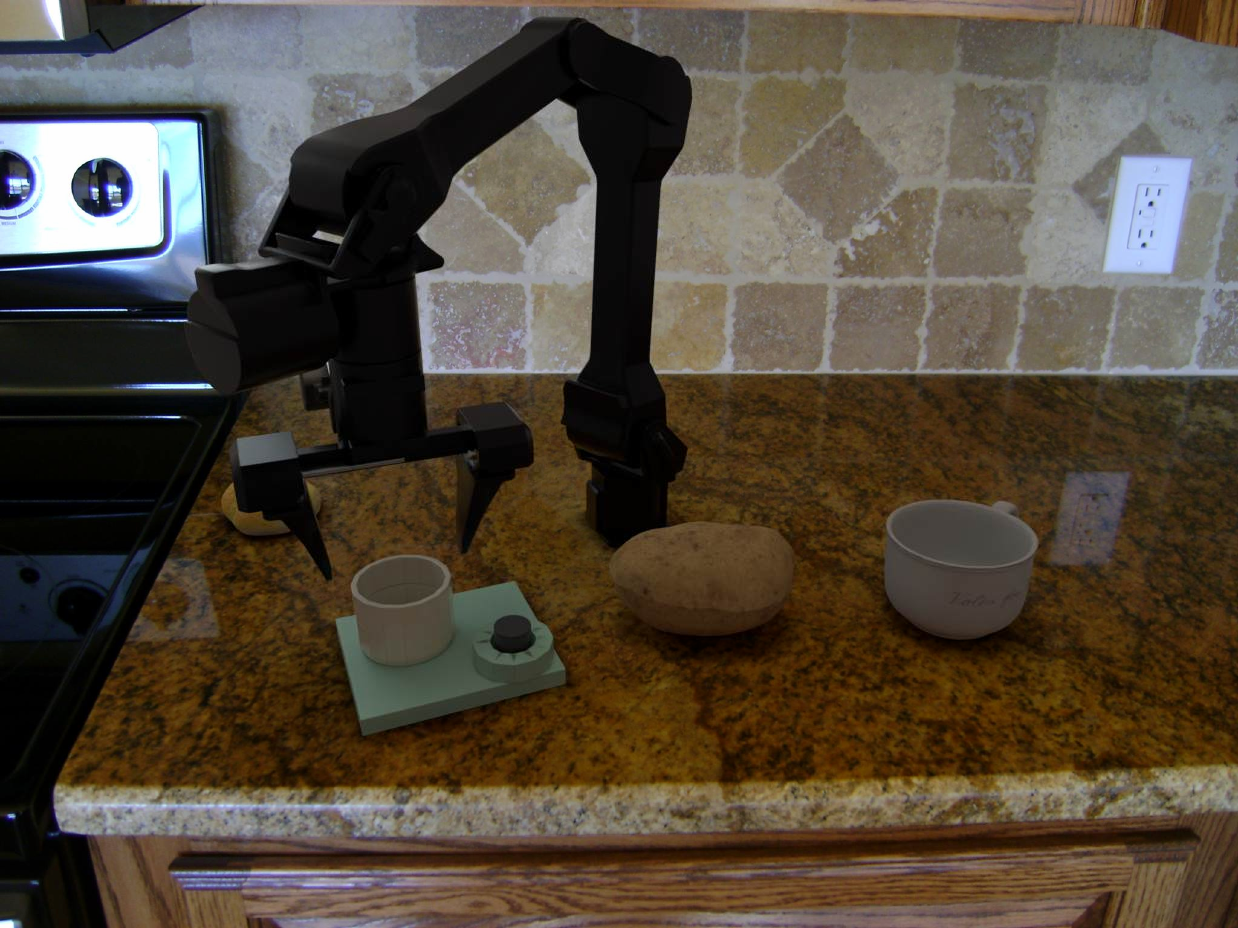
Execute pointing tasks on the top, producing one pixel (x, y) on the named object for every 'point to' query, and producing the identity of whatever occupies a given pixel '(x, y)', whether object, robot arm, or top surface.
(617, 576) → the potato
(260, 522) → the bread roll
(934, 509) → the teacup
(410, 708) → the scale
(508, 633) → the button
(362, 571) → the grey cylindrical container
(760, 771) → the top surface
